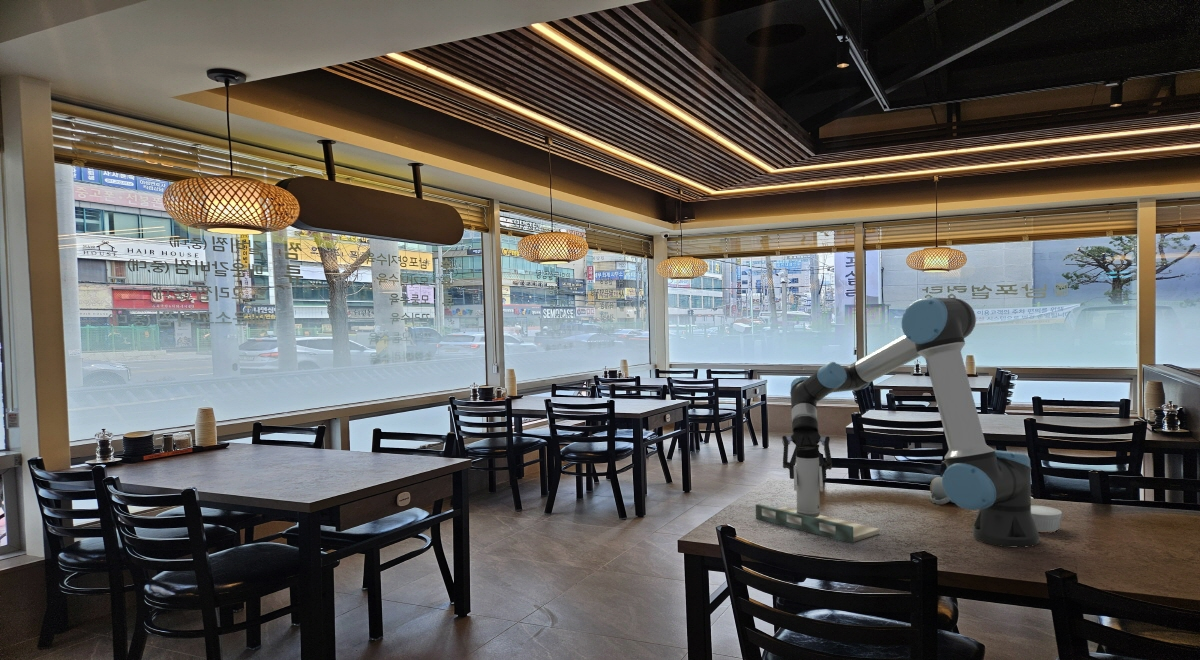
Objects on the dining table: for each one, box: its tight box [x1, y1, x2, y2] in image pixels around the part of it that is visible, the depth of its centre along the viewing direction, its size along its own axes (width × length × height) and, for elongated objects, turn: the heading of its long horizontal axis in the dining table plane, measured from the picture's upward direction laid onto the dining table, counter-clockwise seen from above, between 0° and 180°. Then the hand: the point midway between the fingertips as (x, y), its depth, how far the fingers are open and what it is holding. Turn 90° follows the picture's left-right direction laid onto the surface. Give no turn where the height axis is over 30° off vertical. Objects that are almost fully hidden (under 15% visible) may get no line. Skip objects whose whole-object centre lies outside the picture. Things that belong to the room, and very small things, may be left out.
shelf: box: [755, 503, 881, 543], centre depth 207 cm, size 32×13×4 cm, turn 37°
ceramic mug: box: [929, 476, 953, 505], centre depth 232 cm, size 11×8×8 cm
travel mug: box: [795, 443, 821, 517], centre depth 209 cm, size 6×7×20 cm
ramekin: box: [1031, 504, 1063, 532], centre depth 201 cm, size 11×11×5 cm
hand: (808, 488), depth 205 cm, fingers closed on travel mug, 6 cm apart
